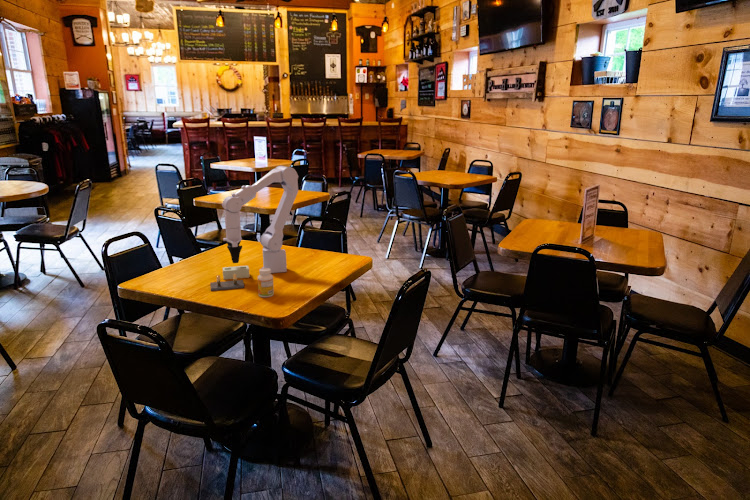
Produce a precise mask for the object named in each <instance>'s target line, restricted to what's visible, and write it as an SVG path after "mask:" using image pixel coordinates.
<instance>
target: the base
mask: <svg viewBox="0 0 750 500" xmlns="http://www.w3.org/2000/svg"><path fill="white" fill-rule="evenodd" d="M236 289H237V290H238V289H245V284H244V280H243V279H240V280H239V279H238V278H237V276H236V274H233V279H232V280H227V281H226V280H224V281H221V275H219V274H218V275H216V282H210V291H211V292H215V291H223V290H224V291H225V290H236Z"/></svg>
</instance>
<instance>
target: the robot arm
mask: <svg viewBox="0 0 750 500" xmlns="http://www.w3.org/2000/svg"><path fill="white" fill-rule="evenodd" d="M298 180H299V175H298V172H297V171H296V169H295V168H294V167H291V166H290V167H289V166H285V165H277V166H276V167H275V168H273V169H271V170H269V172H268V173H266V174H265V175H264V176H262V177H261V178H260V179H259V180H257V181H256V182H254V183H253V184H252V185H246V184H245V185H242V186H241V188H240V189H239V190H237V191H236V192H233V193H231V196H230V195H228V196H226V197H225V198H224V199H223V201H222V203H221V206H222V208H223V209H224V225H225V237H223V238H222V239H223V242H226V244H227V246H226V247H227V250H228V251H229V253H230V257H231V261H232V264H238V263H239V262H240V255H241V254H240V253H241V251H242V249H243V245H241V241H242V240H243V238H242V231H241V230H242V229H241V228H242V227H241V215H240V213H241V212H240V211H241V209H242V207H243V206H245V205H247V204H248V203H249V202H251V201H252V200H253V199H255V198H256V196H257V193H258V192H260V191H261V190H263V189H264V188H267V187H268V186H269V185H271V184H273V183H280V185H281V187H282V189H283V193H282V196H281V198H280V200H279V203H278V205H277V207H276V209H275V213H274V216H273V218H272V220H271V222H270V225H269V226H268V227H267V228H266V229H265V231H264V232H263V233H262V235H261V236H260V239H259V241H260V245H262V259H263V260H262V261H263V262H262V263H263V266H262V267H261V269H262V268H270V269H271V273H270V274H276V273H287V272H288V270H287V269H288V268H287V265H288V264H287V252H286V250H285V249H284V248H283V249H281V248H282V247H283V238H284V232H283V230H284V228H285V225H286V223H287V220H288V217H289V215H290V213H291V210H292V208H293V205H294V202H295V200H296V197H297V195H298V194H299V183H298Z"/></svg>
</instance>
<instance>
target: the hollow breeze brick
mask: <svg viewBox="0 0 750 500" xmlns="http://www.w3.org/2000/svg"><path fill="white" fill-rule="evenodd" d="M233 274H236V276H237V279H245V278H246V279H247V278H250V267H249V265H238V266H228V267H227V266H225V267H222V276H223V280H233Z"/></svg>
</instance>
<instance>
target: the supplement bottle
mask: <svg viewBox="0 0 750 500" xmlns="http://www.w3.org/2000/svg"><path fill="white" fill-rule="evenodd" d="M258 271H259V272H258V273H259V275H257V290H258V291H257V292H258V296H259V297H261V298H271V297H273V296H274V293H275V291H274V290H275V289H274V275H273V274H272V273H271V269H270V268H262V267H261V268H259V269H258Z"/></svg>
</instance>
